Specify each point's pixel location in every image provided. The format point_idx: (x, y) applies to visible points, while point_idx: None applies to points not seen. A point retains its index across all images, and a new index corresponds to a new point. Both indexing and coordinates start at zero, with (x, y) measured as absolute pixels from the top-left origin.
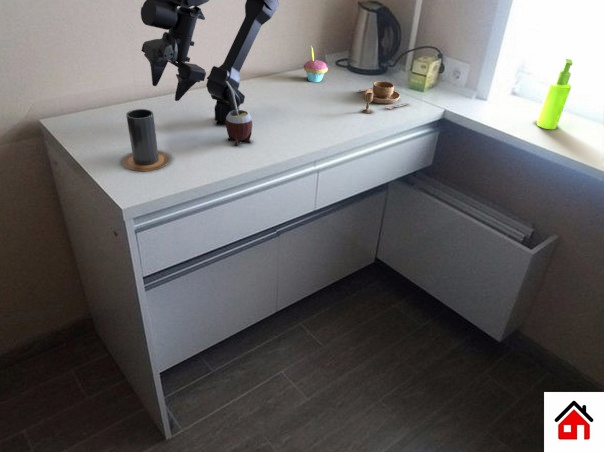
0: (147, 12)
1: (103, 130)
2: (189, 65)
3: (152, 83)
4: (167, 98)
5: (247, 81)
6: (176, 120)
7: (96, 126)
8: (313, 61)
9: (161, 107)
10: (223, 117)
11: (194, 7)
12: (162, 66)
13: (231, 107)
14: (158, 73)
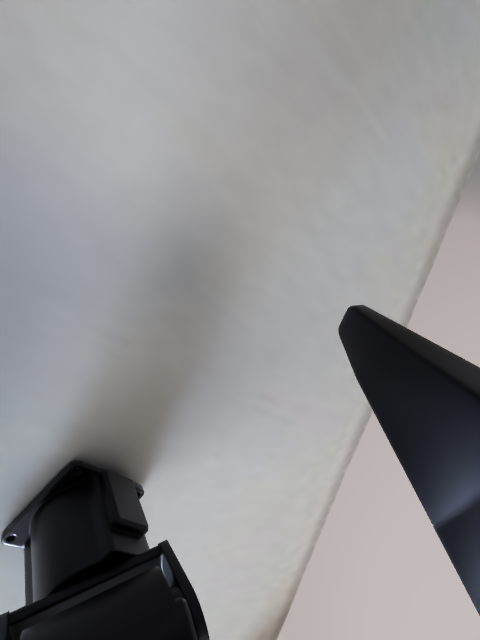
0: None
1: (354, 45)
2: None
3: (372, 311)
4: (358, 391)
5: (285, 590)
6: (225, 345)
7: (393, 59)
8: None
9: (332, 350)
10: (60, 514)
11: None
12: (465, 520)
13: (35, 597)
14: (420, 424)
